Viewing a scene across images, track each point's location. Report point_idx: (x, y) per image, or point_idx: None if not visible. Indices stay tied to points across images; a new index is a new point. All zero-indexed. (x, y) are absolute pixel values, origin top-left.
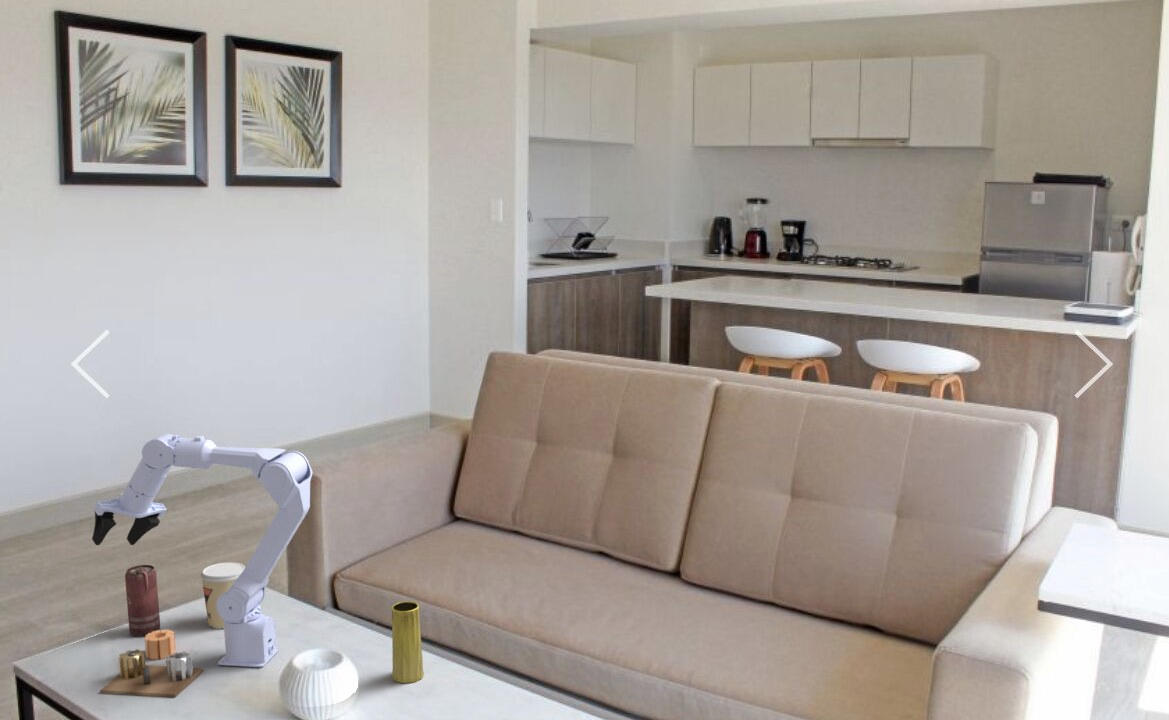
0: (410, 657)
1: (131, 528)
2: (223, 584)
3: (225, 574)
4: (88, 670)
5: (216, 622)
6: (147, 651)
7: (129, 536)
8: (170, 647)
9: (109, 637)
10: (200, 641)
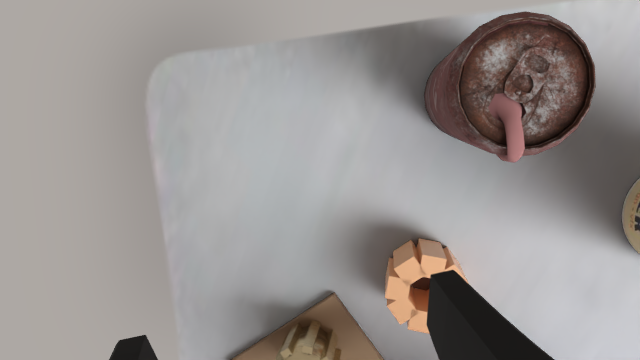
0: None
1: (481, 347)
2: None
3: None
4: (253, 227)
5: (635, 246)
6: (385, 282)
7: (443, 316)
8: None
9: (375, 59)
10: (539, 281)
